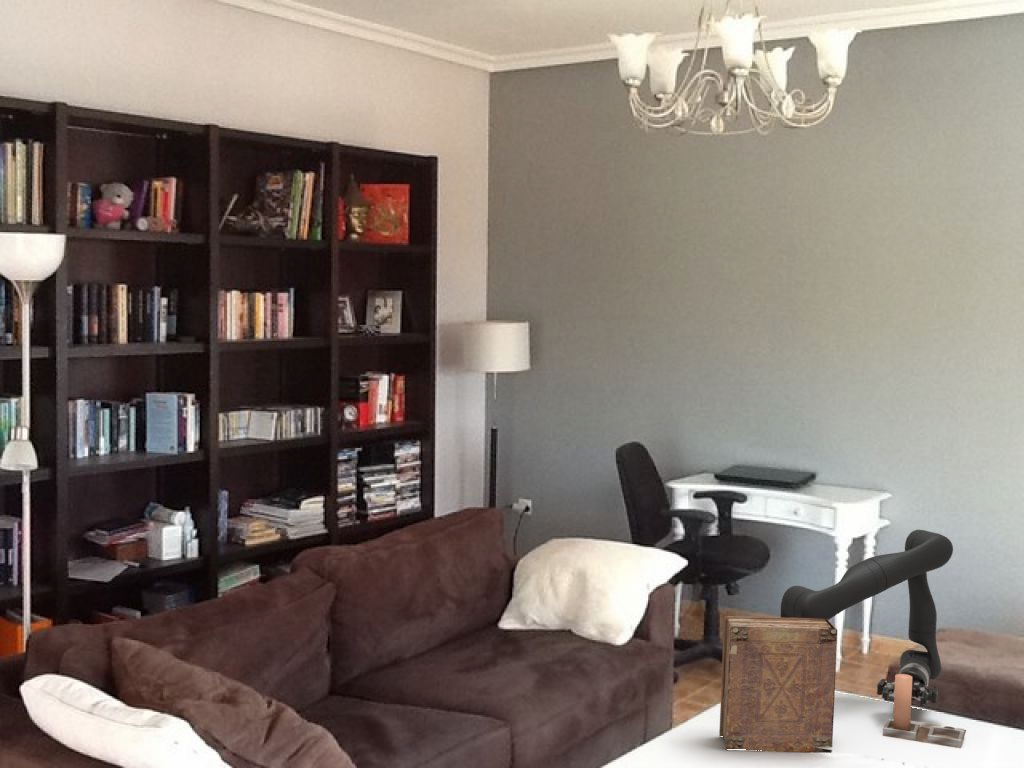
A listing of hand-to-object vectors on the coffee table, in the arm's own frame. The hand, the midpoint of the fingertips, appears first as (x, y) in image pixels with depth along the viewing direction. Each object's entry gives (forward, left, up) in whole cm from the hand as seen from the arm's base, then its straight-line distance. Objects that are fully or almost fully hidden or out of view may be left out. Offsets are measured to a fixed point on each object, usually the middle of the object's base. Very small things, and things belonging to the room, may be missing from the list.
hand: (903, 699), depth 312 cm
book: (-27, -21, -10) cm, 35 cm away
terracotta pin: (0, -2, -8) cm, 8 cm away
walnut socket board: (+5, 0, -9) cm, 11 cm away
